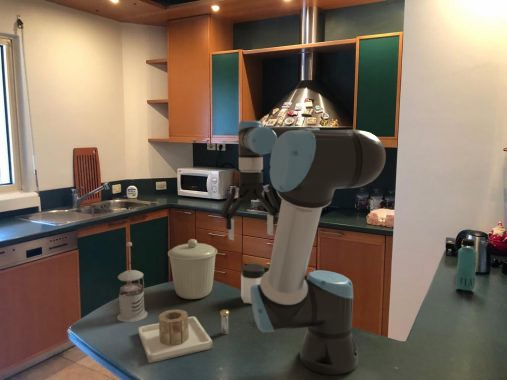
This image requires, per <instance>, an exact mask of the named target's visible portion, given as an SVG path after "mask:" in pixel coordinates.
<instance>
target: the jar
mask: <svg viewBox="0 0 507 380" xmlns="http://www.w3.org/2000/svg"><path fill="white" fill-rule="evenodd" d="M264 274H265V266H263V265H261V264H259V263H258V264H255V263H249V264H245V265H243V266H242V267H241V273H240V288H241V289H240V297H241V300H242V301H243V303H244V304H251V305H252V303H251V294H250V290H251V287H252V286H253V285H256V284H258V285H260V282H261V278H262V276H263V275H264Z"/></svg>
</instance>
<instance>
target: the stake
mask: <svg viewBox="0 0 507 380" xmlns="http://www.w3.org/2000/svg"><path fill="white" fill-rule="evenodd" d="M219 311H220V312H219V313H220V314H219V315H220V316H221V321H220V322H221V334H222V335H228V334H229V315H230V311H229V310H228V309H222V310H219Z"/></svg>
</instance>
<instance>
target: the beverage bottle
mask: <svg viewBox="0 0 507 380" xmlns="http://www.w3.org/2000/svg"><path fill="white" fill-rule="evenodd" d="M461 245H462V247H461V248H459V249H458V250H457V252H458V254H457V264H456V265H457V267H456V278H455V281H456V282H455V286H456V288H457V289H460V290H464V291H472V290H474V289H475V286H476V285H475V284H476V283H475V282H476V271H477V270H476V269H477V260H478V259H477V254H478V252H477V251H476V250H475V249H474V248H473V247H474V246H475V240H474V239H471V238H462V242H461Z"/></svg>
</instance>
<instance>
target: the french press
mask: <svg viewBox="0 0 507 380" xmlns="http://www.w3.org/2000/svg"><path fill="white" fill-rule="evenodd" d="M125 246H126V247H128V255H129V261H131V253H130V252H131V250H130V247H132V246H133V243H132V242H131V241H128V242H126V245H125ZM117 279H118V280H120V281H121V282H131V283H127V284H124V285H122V286H120V287H119V291H118V300H119V314H118V315H117V316H116V318H117V320H118V321H120V322H123V323H132V322H133V323H134V322H138V321H141V320H143V319H146V318H147V316H148V315H149V313H148V311H147V310H145V299H144V297H145V296H144V294H145V291H144V289H145V282H144V281H145V280H144V273H143V272H141V271H139V270H136V269H131V265H129V269H128V270H125V271H123V272H121V273H120V274H119V275H118V276H117ZM141 279H142V284H141V283H140V280H141ZM132 281H138V283H132Z"/></svg>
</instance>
